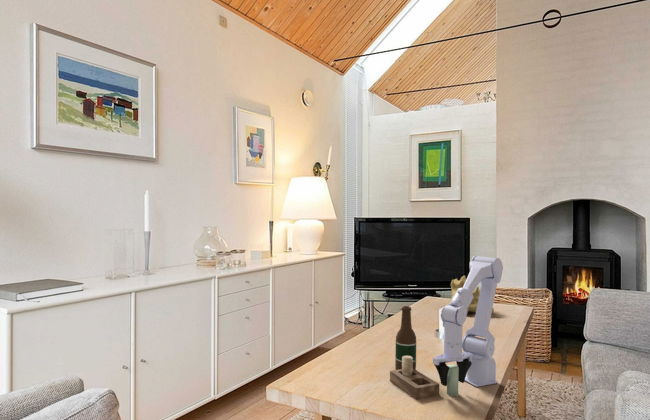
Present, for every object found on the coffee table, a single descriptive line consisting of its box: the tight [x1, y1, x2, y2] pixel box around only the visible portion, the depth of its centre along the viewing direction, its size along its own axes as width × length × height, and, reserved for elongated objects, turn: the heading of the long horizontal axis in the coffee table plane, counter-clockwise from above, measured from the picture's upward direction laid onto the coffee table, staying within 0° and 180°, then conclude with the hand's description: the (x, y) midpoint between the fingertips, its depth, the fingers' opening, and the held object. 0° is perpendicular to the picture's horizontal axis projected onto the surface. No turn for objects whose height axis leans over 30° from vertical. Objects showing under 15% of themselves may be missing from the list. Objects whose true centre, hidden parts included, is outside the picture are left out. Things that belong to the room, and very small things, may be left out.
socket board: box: [389, 369, 440, 400], centre depth 152 cm, size 9×16×4 cm, turn 23°
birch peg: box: [402, 356, 413, 377], centre depth 156 cm, size 4×4×9 cm
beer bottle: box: [394, 305, 417, 370], centre depth 167 cm, size 8×8×24 cm
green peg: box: [446, 364, 459, 397], centre depth 147 cm, size 4×4×9 cm
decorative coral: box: [447, 275, 495, 314], centre depth 261 cm, size 26×22×25 cm
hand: (452, 383), depth 147 cm, fingers open, 6 cm apart
